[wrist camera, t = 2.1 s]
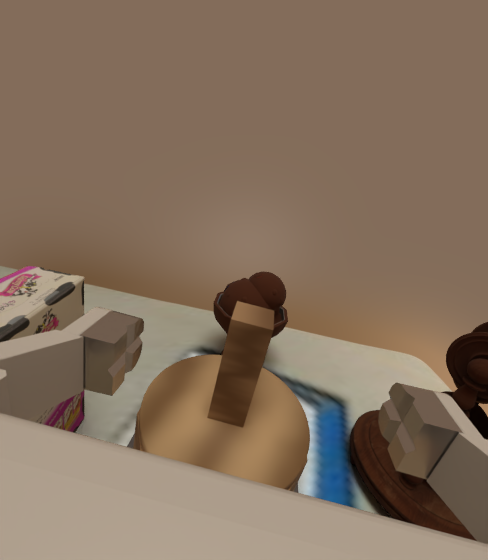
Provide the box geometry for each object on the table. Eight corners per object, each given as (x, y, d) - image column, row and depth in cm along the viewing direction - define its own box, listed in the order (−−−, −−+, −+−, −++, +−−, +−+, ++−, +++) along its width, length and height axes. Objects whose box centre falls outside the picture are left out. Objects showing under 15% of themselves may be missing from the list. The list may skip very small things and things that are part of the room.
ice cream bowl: (247, 334, 51) (268, 257, 46) (284, 376, 43) (316, 288, 37) (193, 342, 46) (209, 255, 40) (223, 392, 37) (250, 291, 32)
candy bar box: (36, 409, 29) (27, 262, 23) (85, 417, 30) (89, 275, 24) (-79, 542, 19) (-149, 340, 13) (-2, 552, 19) (-34, 361, 13)
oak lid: (96, 524, 21) (105, 343, 15) (169, 385, 36) (189, 262, 29) (291, 581, 21) (381, 418, 15) (287, 417, 35) (332, 299, 29)
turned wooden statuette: (466, 616, 22) (666, 434, 14) (320, 453, 32) (393, 298, 25) (506, 509, 31) (641, 364, 24) (382, 409, 41) (449, 286, 34)
